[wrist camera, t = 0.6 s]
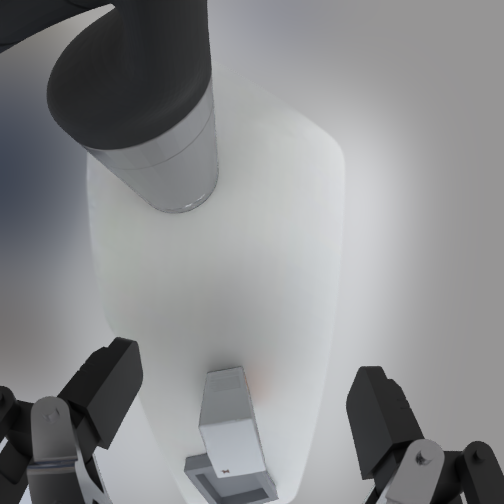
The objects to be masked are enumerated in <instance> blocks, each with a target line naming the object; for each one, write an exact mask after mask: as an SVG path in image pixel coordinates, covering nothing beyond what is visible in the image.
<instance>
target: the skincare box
mask: <svg viewBox="0 0 504 504" xmlns="http://www.w3.org/2000/svg"><path fill="white" fill-rule="evenodd" d="M198 427H199V430H200V433H201V436H202V439H203V442H204V445H205V448H206V451H207V455H208V457H209V459H210V461H211V463H212V466H213V468H214V471H215V473H216V475H217V477H218V478H224V477H231V476H238V475H245V474H251V473H256V472H261V471H265V470H266V465H265V460H264V455H263V451H262V446H261V442H260V437H259V433H258V428H257V423H256V419H255V415H254V410H253V406H252V402H251V398H250V394H249V390H248V386H247V382H246V378H245V374H244V369H243V367H237V368H232V369H227V370H221V371H215V372H209V373H207V377H206V383H205V389H204V395H203V401H202V407H201V413H200V420H199V426H198Z"/></svg>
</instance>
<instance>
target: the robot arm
mask: <svg viewBox="0 0 504 504" xmlns="http://www.w3.org/2000/svg"><path fill="white" fill-rule="evenodd" d="M107 4H113V5H114V6H115V8H114V9H113V10H111V11H110V12H108V13H107V14H105V15H104V16H102V17H101V18H99V19H98V20H96V21H95V22H93V23H92V24H91V25H89V26H88V27H87V28H85V29H84V30H83V31H82V32H81V33H80V34H79V35H77V36H76V38H74V40H72V41H71V43H70V44H69V45H68V46H67V47H66V48H65V50H64V51H63V52H62V54H61V56H60V57H59V58H58V60H57V62H56V64H55V66H54V67H53V70H52V72H51V75H50V78H49V81H48V86H47V103H48V108H49V110H50V113H51V115H52V117H53V118H54V120H55V121H56V122H57V124H58V125H59V126H60V127H61V128H62V129H63V130H64V131H65V132H67V133H68V134H69V135H70V136H71V137H72V138H73V139H74V140H76V141H77V142H78V143H79V144H80V145H81V146H82V147H84V148H85V149H86V150H87V151H88V152H89V153H90V154H92V155H93V156H94V157H95V158H96V159H97V160H98V161H100V162H101V163H102V164H103V165H105V166H106V167H107V168H108V169H109V170H110V171H111V172H113V173H114V174H115V175H116V176H117V177H118V178H120V179H121V180H122V181H123V182H124V183H125V184H127V185H128V186H129V187H130V188H131V189H132V190H134V191H135V192H136V193H137V194H138V195H139V196H141V197H142V198H143V199H144V200H145V201H147V202H148V203H149V204H150V205H152V206H153V207H155V208H156V209H158V210H161V211H163V212H169V213H181V212H185V211H189V210H191V209H193V208H195V207H197V206H199V205H200V204H201V203H203V202H204V201H205V200H206V199H207V198H208V197H209V196H210V194H211V193H212V191H213V189H214V188H215V185H216V182H217V179H218V159H217V158H218V157H217V143H216V129H215V114H214V99H213V86H212V68H211V55H210V44H209V32H208V13H207V0H0V53H2V52H4V51H5V50H7V49H9V48H11V47H12V46H14V45H16V44H18V43H19V42H21V41H23V40H24V39H26V38H28V37H30V36H32V35H34V34H36V33H38V32H40V31H42V30H44V29H46V28H48V27H50V26H52V25H54V24H57V23H59V22H61V21H63V20H66V19H68V18H70V17H73V16H75V15H78V14H81V13H83V12H86V11H89V10H92V9H95V8H98V7H101V6H104V5H107ZM142 381H143V370H142V364H141V358H140V352H139V346H138V343H137V342H136V341H133V340H129V339H125V338H121V337H116V338H115V339H114V341H113V342H112V343H111V344H110V345H109V347H108V348H107V347H102V348H100V349H99V350H97V351H95V352H93V353H92V354H91V355H90V357H89V358H88V359H87V360H86V362H85V364H83V365H82V366H81V367H80V370H79V371H77V372H76V374H75V375H74V376H73V377H72V378H71V380H70V381H69V382H68V383H67V385H66V386H65V387H64V388H63V390H62V391H61V392H60V394H59V395H58V396H57V397H53V396H49V397H44V398H42V399H39V400H38V401H37V402H36V403H35V404H34V403H28V402H24V401H19V400H16V398H15V396H14V395H13V393H12V391H11V390H10V389H9V388H7V387H4V386H0V443H1V441H2V440H3V439H4V437H6V438H7V440H8V442H7V443H6V445H5V447H4V448H3V450H2V451H1V453H0V504H19V502H20V500H21V498H22V496H23V494H24V492H25V490H26V488H27V485H28V484H29V490H30V496H31V501H32V504H113V503H112V502H111V500H110V498H109V496H108V493H107V490H106V488H105V485H104V482H103V479H102V476H101V473H100V470H99V467H98V464H97V461H96V457H95V454H94V450H95V448H96V447H97V446H99V447H102V448H104V449H107V450H108V448H109V446H110V444H111V442H112V440H113V438H114V436H115V435H116V433H117V431H118V428H119V427H120V425H121V423H122V421H123V419H124V417H125V415H126V413H127V412H128V410H129V408H130V406H131V404H132V402H133V400H134V398H135V396H136V395H137V393H138V391H139V389H140V387H141V385H142ZM346 410H347V415H348V419H349V423H350V426H351V431H352V435H353V439H354V444H355V448H356V452H357V457H358V461H359V466H360V470H361V475H362V480H366V479H372V478H374V482H375V485H374V486H373V487H372V488H371V490H370V492H369V493H368V495H367V496H366V498H365V500H364V501H363V503H362V504H463V503H462V499H461V496H460V494H461V493H462V492H464V494H465V497H466V501H467V504H504V475H503V473H502V471H501V468H500V466H499V464H498V461H497V459H496V457H495V455H494V453H493V451H492V449H491V447H490V446H489V445H487V444H486V443H484V442H481V441H475V442H472V443H470V444H469V445H468V446H467V447H466V448H465V449H464V450H463V451H443V450H442V448H441V447H440V446H439V445H438V444H437V443H436V442H434V441H431V440H428V439H425V438H424V436H423V434H422V432H421V429H420V427H419V425H418V423H417V420H416V418H415V416H414V414H413V412H412V409H411V408H410V406H409V403H408V401H407V400H406V397H405V395H404V393H403V391H402V389H401V387H400V386H399V385H398V384H396V382H395V381H394V380H393V379H387V377H386V375H385V373H384V371H383V369H382V367H380V366H367V367H366V366H362V367H360V368H359V370H358V372H357V374H356V377H355V379H354V382H353V384H352V387H351V389H350V391H349V394H348V396H347V401H346Z"/></svg>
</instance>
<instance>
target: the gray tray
mask: <svg viewBox="0 0 504 504" xmlns="http://www.w3.org/2000/svg"><path fill="white" fill-rule="evenodd" d="M184 472H185V474H186V475H187V476H188V478H189V479H190V480H191V482H192V483H193V484H194V485H195V487H196V488H197V489H198V491H199V492H200V493H201V494H202V496H203V497H204V498H205V499H206V500H207V502H208V503H209V504H263V503H266V502H270V501H274V500H277V499H279V498H278V495H277V491H276V487H275V485H274V483H273V481H272V480H271V478H270V476H269V474H268V473H267V471H266V470H265V471H261V472H256V473H251V474H245V475H238V476H231V477H224V478H218V477H217V475H216V473H215V471H214V468H213V466H212V463H211V461H210V459H209V457H208V455H207V454H203V455H198V456H193V457H188V458H186V463H185V468H184Z"/></svg>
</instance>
